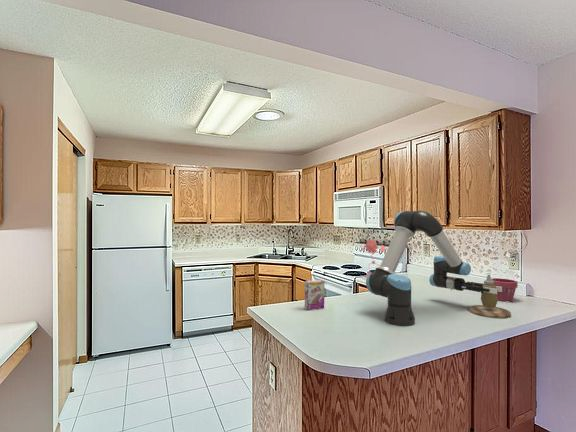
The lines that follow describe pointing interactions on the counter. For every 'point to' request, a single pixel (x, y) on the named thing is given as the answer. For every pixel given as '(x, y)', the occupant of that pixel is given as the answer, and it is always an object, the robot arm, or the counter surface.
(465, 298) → the counter surface
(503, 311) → the walnut board
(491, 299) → the squeeze bottle
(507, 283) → the plant pot
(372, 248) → the figurine
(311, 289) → the candy bar box
